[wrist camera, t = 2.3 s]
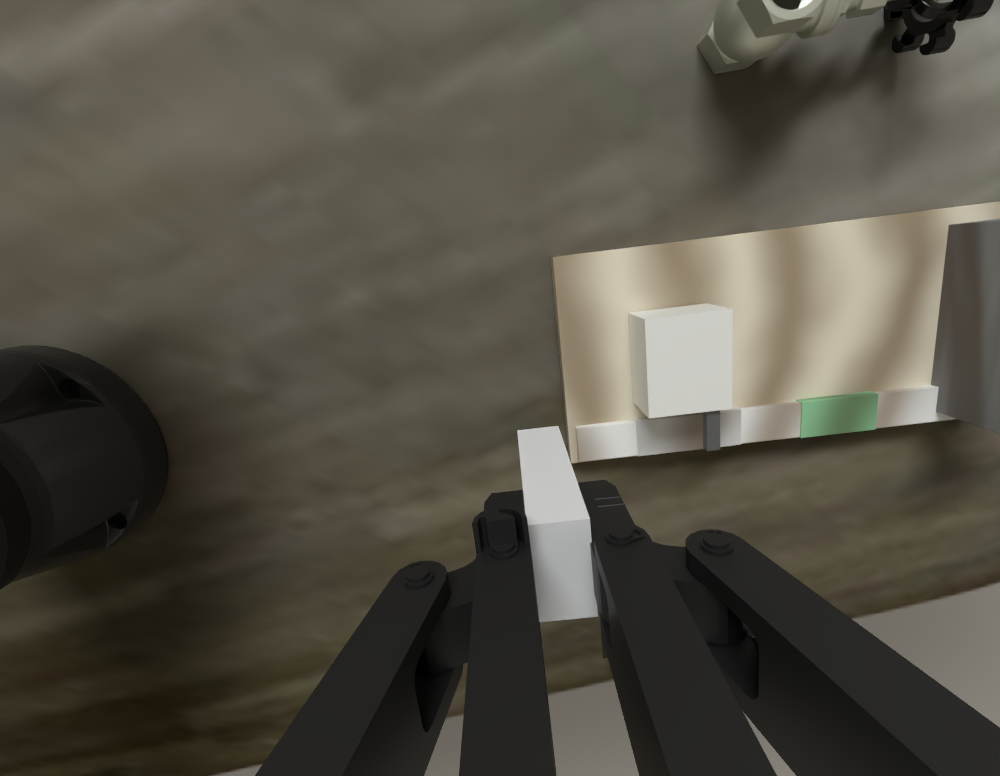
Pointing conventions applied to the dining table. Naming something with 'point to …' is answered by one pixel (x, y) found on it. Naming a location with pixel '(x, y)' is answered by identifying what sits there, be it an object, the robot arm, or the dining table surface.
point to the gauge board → (795, 329)
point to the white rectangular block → (683, 363)
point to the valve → (822, 25)
